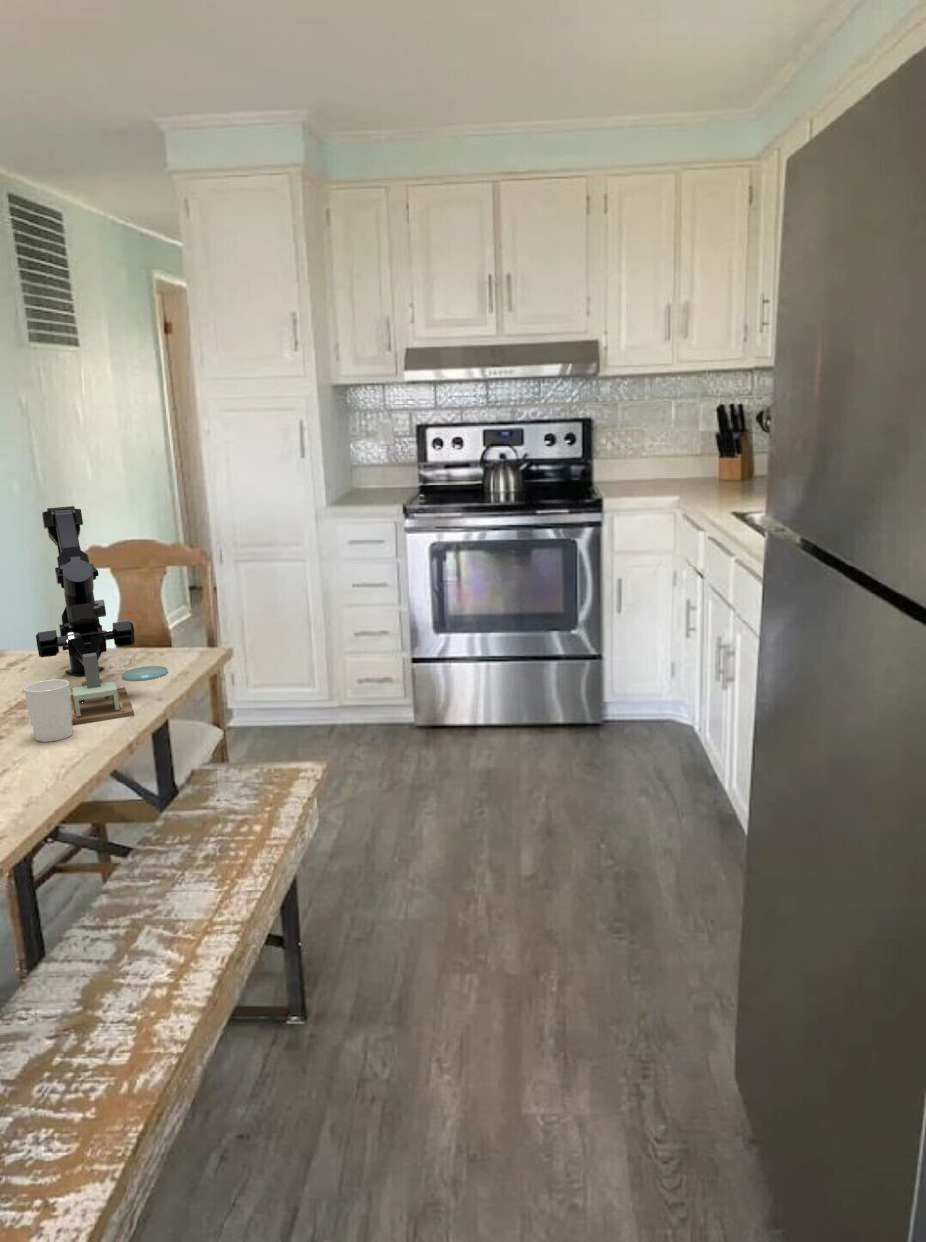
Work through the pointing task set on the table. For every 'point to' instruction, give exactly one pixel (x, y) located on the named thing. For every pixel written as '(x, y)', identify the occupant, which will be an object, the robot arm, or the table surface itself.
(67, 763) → the table surface
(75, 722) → the puzzle board
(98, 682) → the sliding cover
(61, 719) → the white cup
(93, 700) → the block
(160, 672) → the teal saucer
